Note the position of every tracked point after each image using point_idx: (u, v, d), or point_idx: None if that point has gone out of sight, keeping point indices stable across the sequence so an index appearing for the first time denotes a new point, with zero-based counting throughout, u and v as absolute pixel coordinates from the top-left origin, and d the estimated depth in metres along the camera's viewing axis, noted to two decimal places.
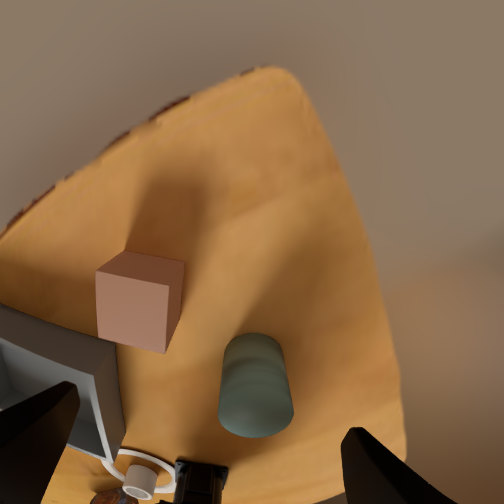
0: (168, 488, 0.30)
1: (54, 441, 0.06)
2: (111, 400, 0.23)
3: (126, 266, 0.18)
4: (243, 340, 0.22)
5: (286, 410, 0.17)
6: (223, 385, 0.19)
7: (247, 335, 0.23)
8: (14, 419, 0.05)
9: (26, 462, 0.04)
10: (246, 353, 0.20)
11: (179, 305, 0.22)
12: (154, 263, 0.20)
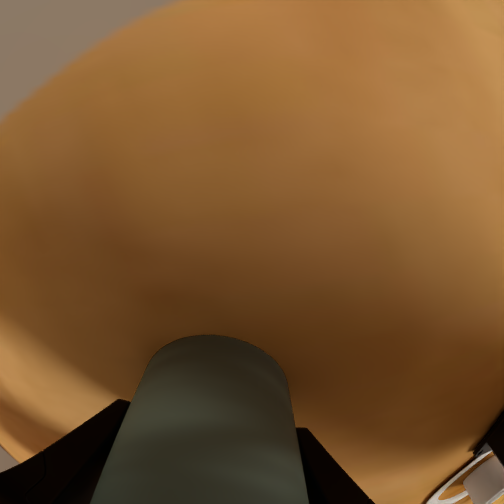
0: None
1: None
2: None
3: None
4: None
5: None
6: None
7: None
8: (73, 449, 0.05)
9: (89, 492, 0.04)
10: None
11: None
12: None
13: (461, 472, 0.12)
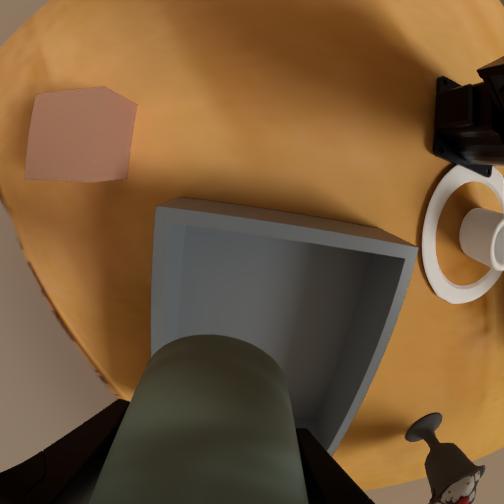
0: None
1: None
2: (268, 213, 0.16)
3: None
4: None
5: None
6: None
7: None
8: (72, 449, 0.05)
9: (89, 492, 0.04)
10: None
11: None
12: None
13: (439, 190, 0.18)
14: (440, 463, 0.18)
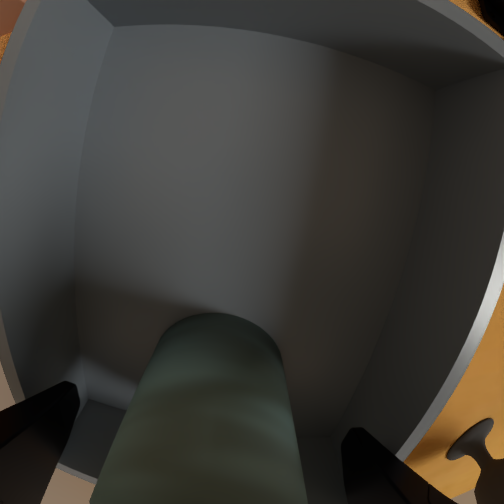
0: None
1: (54, 441, 0.06)
2: None
3: None
4: None
5: None
6: None
7: None
8: (13, 419, 0.05)
9: (26, 462, 0.04)
10: None
11: None
12: None
13: None
14: (501, 488, 0.08)
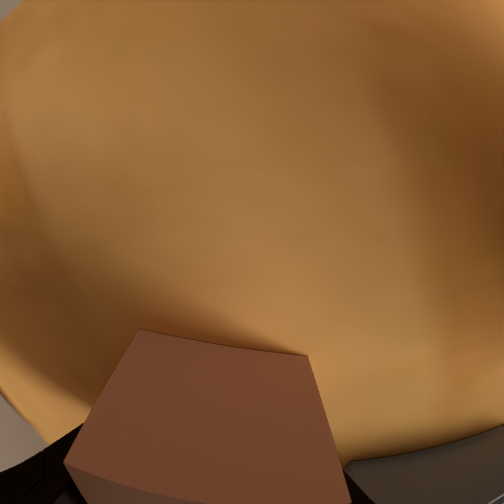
0: None
1: None
2: (453, 475, 0.08)
3: None
4: None
5: None
6: None
7: None
8: None
9: None
10: None
11: (254, 363, 0.07)
12: None
13: None
14: None
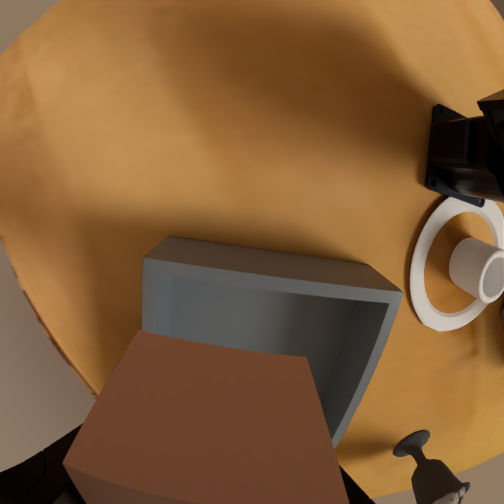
0: (497, 228, 0.18)
1: None
2: (254, 258, 0.16)
3: None
4: None
5: None
6: None
7: None
8: None
9: None
10: None
11: (252, 364, 0.07)
12: None
13: (430, 223, 0.18)
14: (426, 479, 0.18)
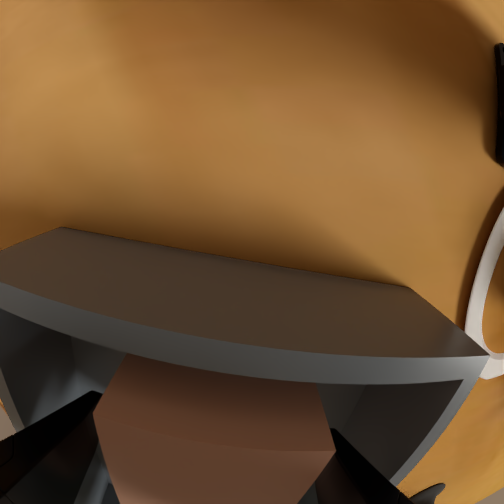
0: None
1: (83, 454, 0.06)
2: (183, 275, 0.07)
3: None
4: None
5: None
6: None
7: None
8: (42, 435, 0.05)
9: (57, 478, 0.04)
10: None
11: None
12: None
13: (503, 218, 0.09)
14: None
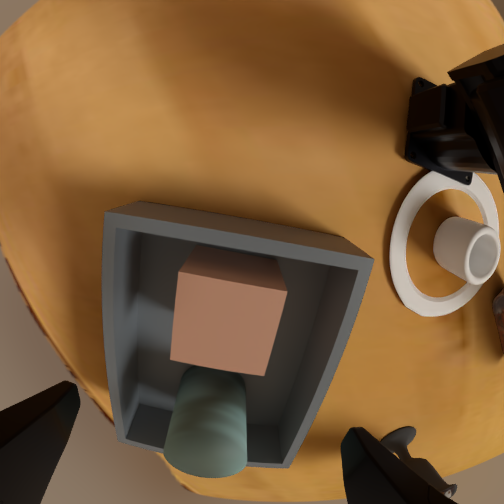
0: (487, 210, 0.18)
1: (54, 441, 0.06)
2: (217, 219, 0.16)
3: None
4: None
5: (189, 441, 0.13)
6: None
7: None
8: (13, 419, 0.05)
9: (26, 462, 0.04)
10: None
11: (250, 258, 0.17)
12: None
13: (412, 195, 0.18)
14: None
